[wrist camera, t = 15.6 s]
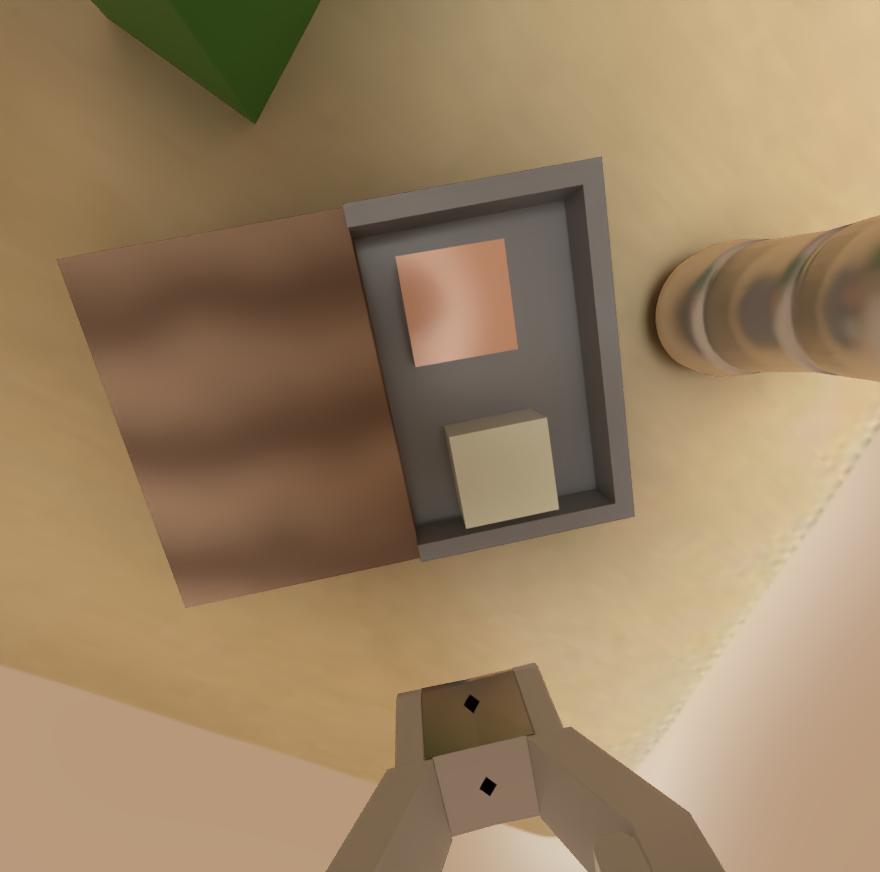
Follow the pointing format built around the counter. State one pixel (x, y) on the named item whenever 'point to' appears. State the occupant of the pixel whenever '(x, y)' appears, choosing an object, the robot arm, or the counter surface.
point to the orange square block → (457, 302)
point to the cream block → (502, 467)
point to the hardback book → (220, 41)
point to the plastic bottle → (778, 305)
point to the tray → (516, 371)
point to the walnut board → (250, 402)
